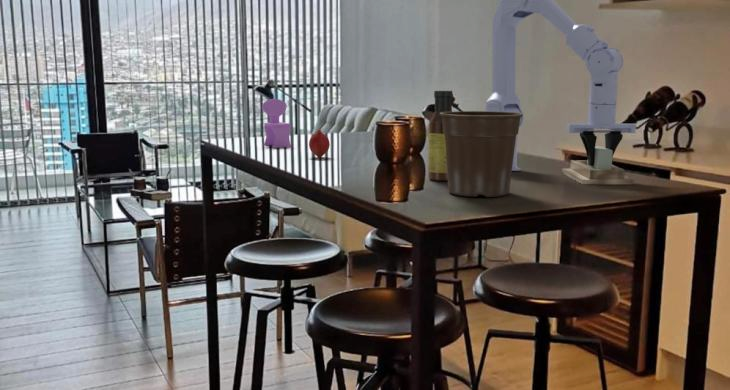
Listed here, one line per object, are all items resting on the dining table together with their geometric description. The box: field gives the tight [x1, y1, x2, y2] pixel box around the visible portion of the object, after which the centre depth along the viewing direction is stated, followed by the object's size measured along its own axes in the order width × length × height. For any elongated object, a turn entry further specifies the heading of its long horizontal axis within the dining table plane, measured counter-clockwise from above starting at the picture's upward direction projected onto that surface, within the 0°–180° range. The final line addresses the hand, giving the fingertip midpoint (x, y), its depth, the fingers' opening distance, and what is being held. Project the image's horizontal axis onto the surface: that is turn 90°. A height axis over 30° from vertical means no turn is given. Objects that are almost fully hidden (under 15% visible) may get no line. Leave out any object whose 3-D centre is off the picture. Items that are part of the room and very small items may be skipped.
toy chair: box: [261, 98, 292, 149], centre depth 227 cm, size 8×9×15 cm
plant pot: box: [440, 110, 524, 198], centre depth 142 cm, size 16×16×16 cm
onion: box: [308, 128, 331, 158], centre depth 198 cm, size 6×6×8 cm
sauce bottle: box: [427, 90, 454, 182], centre depth 158 cm, size 6×6×20 cm
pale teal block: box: [587, 145, 613, 170], centre depth 159 cm, size 3×8×6 cm, turn 179°
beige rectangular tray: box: [561, 159, 635, 185], centre depth 161 cm, size 11×17×3 cm, turn 179°
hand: (599, 165), depth 159 cm, fingers closed on pale teal block, 3 cm apart
